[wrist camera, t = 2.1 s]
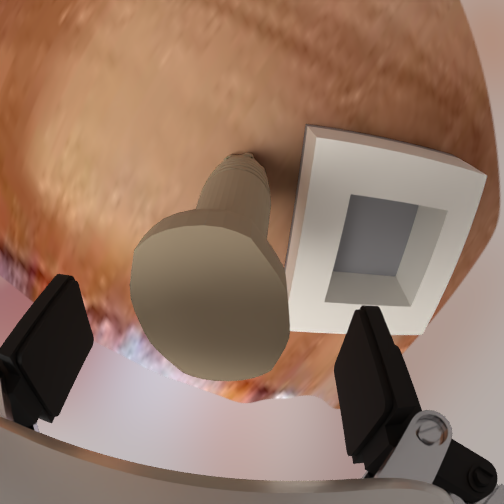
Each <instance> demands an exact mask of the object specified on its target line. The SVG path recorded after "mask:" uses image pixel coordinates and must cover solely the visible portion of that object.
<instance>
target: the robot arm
mask: <svg viewBox="0 0 504 504" xmlns="http://www.w3.org/2000/svg"><path fill="white" fill-rule="evenodd" d="M93 341H94V337H93V334H92V330H91V327H90V324H89V320H88V317H87V314H86V310H85V307H84V303H83V299H82V295H81V292H80V288H79V284H78V282H77V281H75V279H74V277H73V276H69V275H63V274H57V275H56V276H55V277H54V278H53V280H52V281H51V282H50V283H49V284H48V286H47V287H46V288H45V289H44V291H43V292H42V293H41V294H40V295H39V297H38V298H37V299H36V300H35V302H34V303H33V304H32V306H31V307H30V308H29V309H28V311H27V312H26V313H25V315H24V316H23V317H22V319H21V320H20V321H19V322H18V324H17V325H16V327H15V328H14V329H13V331H12V332H11V333H10V335H9V336H8V338H7V339H6V340H5V342H4V343H3V345H2V346H1V347H0V504H504V485H503V484H501V485H499V486H498V484H497V472H496V469H495V468H494V466H493V465H492V464H491V463H490V462H489V461H488V460H486V459H484V458H483V457H481V456H479V455H478V454H476V453H474V452H473V451H471V450H469V449H468V448H466V447H464V446H463V445H461V444H459V443H458V442H456V441H454V440H453V439H451V438H452V428H451V425H450V423H449V421H448V420H447V419H446V418H445V417H444V416H443V415H441V414H440V413H438V412H436V411H432V410H425V411H422V410H421V407H420V404H419V401H418V398H417V395H416V392H415V389H414V386H413V384H412V381H411V378H410V375H409V372H408V370H407V367H406V364H405V361H404V359H403V356H402V354H401V351H400V349H399V347H398V346H396V345H395V344H394V342H393V339H392V337H391V334H390V332H389V329H388V327H387V324H386V322H385V319H384V317H383V314H382V312H381V309H380V308H379V307H378V306H365V305H363V306H361V307H360V309H359V310H355V311H354V314H353V317H352V320H351V322H350V325H349V328H348V331H347V333H346V336H345V339H344V342H343V344H342V347H341V349H340V352H339V355H338V357H337V360H336V362H335V366H334V375H335V380H336V386H337V392H338V398H339V404H340V410H341V416H342V422H343V429H344V435H345V443H346V450H347V454H348V455H349V456H352V458H353V463H354V464H355V463H364V465H365V470H367V471H366V473H365V474H364V476H363V477H362V478H361V479H346V480H326V481H264V480H246V479H234V478H223V477H213V476H206V475H198V474H191V473H184V472H178V471H172V470H167V469H162V468H156V467H151V466H147V465H142V464H137V463H134V462H130V461H126V460H122V459H118V458H114V457H110V456H107V455H103V454H100V453H96V452H93V451H90V450H87V449H83V448H80V447H77V446H74V445H71V444H69V443H66V442H63V441H60V440H57V439H55V438H52V437H49V436H47V435H44V434H42V433H39V429H38V426H37V420H38V418H40V419H42V420H44V421H47V422H50V423H52V422H53V420H54V417H56V416H58V415H59V413H60V412H61V409H62V407H63V405H64V403H65V401H66V399H67V396H68V394H69V392H70V390H71V388H72V386H73V384H74V382H75V380H76V378H77V375H78V373H79V371H80V369H81V367H82V365H83V363H84V361H85V359H86V357H87V356H88V353H89V351H90V350H91V348H92V346H93Z"/></svg>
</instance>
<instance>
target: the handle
mask: <svg viewBox="0 0 504 504" xmlns="http://www.w3.org/2000/svg"><path fill="white" fill-rule="evenodd" d="M270 209H271V198H270V188H269V183H268V178H267V175H266V171H265V169H264V167H263V166H261V165H260V164H259V163H258V162H257V161H256V160H255V159H254V157H253V154H251V153H248V152H246V153H245V154H242V155H233V154H231V155H229V156H227V157H226V158H225V159H224V161H223V162H222V163H221V164H219V165H218V166H217V167H216V169H215V170H214V171H213V172H212V173H211V175H210V176H209V178H208V180H207V181H206V183H205V185H204V187H203V189H202V192H201V195H200V198H199V201H198V204H197V207H196V209H194V210H189V211H184V212H180V213H176V214H174V215H171V216H169V217H166V218H164V219H163V220H161V221H160V222H158V223H157V224H156V225H154V226H153V227H152V228H151V229H150V230H149V231H148V232H147V233H146V234H145V235H144V237H143V238H142V239H141V241H140V242H139V244H138V245H137V247H136V248H135V250H134V256H133V263H132V270H131V281H130V294H131V301H132V304H133V307H134V310H135V313H136V315H137V317H138V319H139V322H140V324H141V326H142V328H143V330H144V332H145V334H146V336H147V338H148V339H149V341H150V342H151V344H152V345H153V346H154V347H155V348H156V349H157V350H158V351H159V352H160V353H161V354H162V355H163V356H164V357H165V358H166V359H167V360H169V361H170V362H171V363H172V364H173V365H175V366H176V367H177V368H178V369H179V370H181V371H182V372H183V373H185V374H188V375H190V376H193V377H197V378H201V379H206V380H214V381H237V380H245V379H251V378H255V377H258V376H260V375H263V374H265V373H267V372H269V371H271V370H272V368H273V367H274V365H275V364H276V362H277V361H278V359H279V357H280V356H281V354H282V352H283V351H284V349H285V347H286V344H287V342H288V339H289V334H290V318H289V305H288V293H287V282H286V274H285V270H284V267H283V265H282V264H281V262H280V260H279V258H278V256H277V255H276V253H275V251H274V250H273V248H272V247H271V245H270V244H269V242H268V241H267V233H268V225H269V217H270Z"/></svg>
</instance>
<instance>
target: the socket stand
mask: <svg viewBox="0 0 504 504" xmlns="http://www.w3.org/2000/svg"><path fill="white" fill-rule="evenodd" d="M486 178H487V175H486V174H484V173H483V172H481V171H479V170H478V169H476V168H474V167H473V166H471V165H469V164H468V163H466V162H464V161H463V160H461V159H459V158H457V157H456V156H454V155H452V154H449V153H445V152H441V151H438V150H434V149H430V148H427V147H423V146H419V145H415V144H411V143H406V142H402V141H398V140H393V139H389V138H384V137H379V136H375V135H370V134H364V133H359V132H354V131H348V130H342V129H336V128H330V127H324V126H317V125H310V124H306V125H305V133H304V141H303V148H302V156H301V163H300V170H299V177H298V184H297V191H296V198H295V204H294V211H293V217H292V224H291V230H290V237H289V243H288V249H287V255H286V262H285V268H284V270H285V274H286V282H287V293H288V305H289V318H290V331H299V332H316V333H337V334H346V333H347V331H348V328H349V325H350V322H351V320H352V317H353V314H354V311H355V310H359V309H360V307H361V306H363V305H365V306H378V307H379V308H380V309H381V312H382V314H383V317H384V319H385V322H386V324H387V327H388V329H389V332H390V334H391V335H422V334H423V333H424V331H425V329H426V327H427V325H428V323H429V321H430V319H431V317H432V315H433V313H434V312H435V310H436V308H437V305H438V303H439V301H440V299H441V297H442V295H443V293H444V291H445V289H446V287H447V284H448V282H449V280H450V278H451V275H452V273H453V271H454V269H455V266H456V264H457V261H458V259H459V257H460V254H461V252H462V249H463V247H464V244H465V241H466V239H467V236H468V234H469V231H470V228H471V225H472V222H473V220H474V217H475V214H476V211H477V208H478V205H479V202H480V199H481V195H482V192H483V189H484V185H485V182H486Z"/></svg>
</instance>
